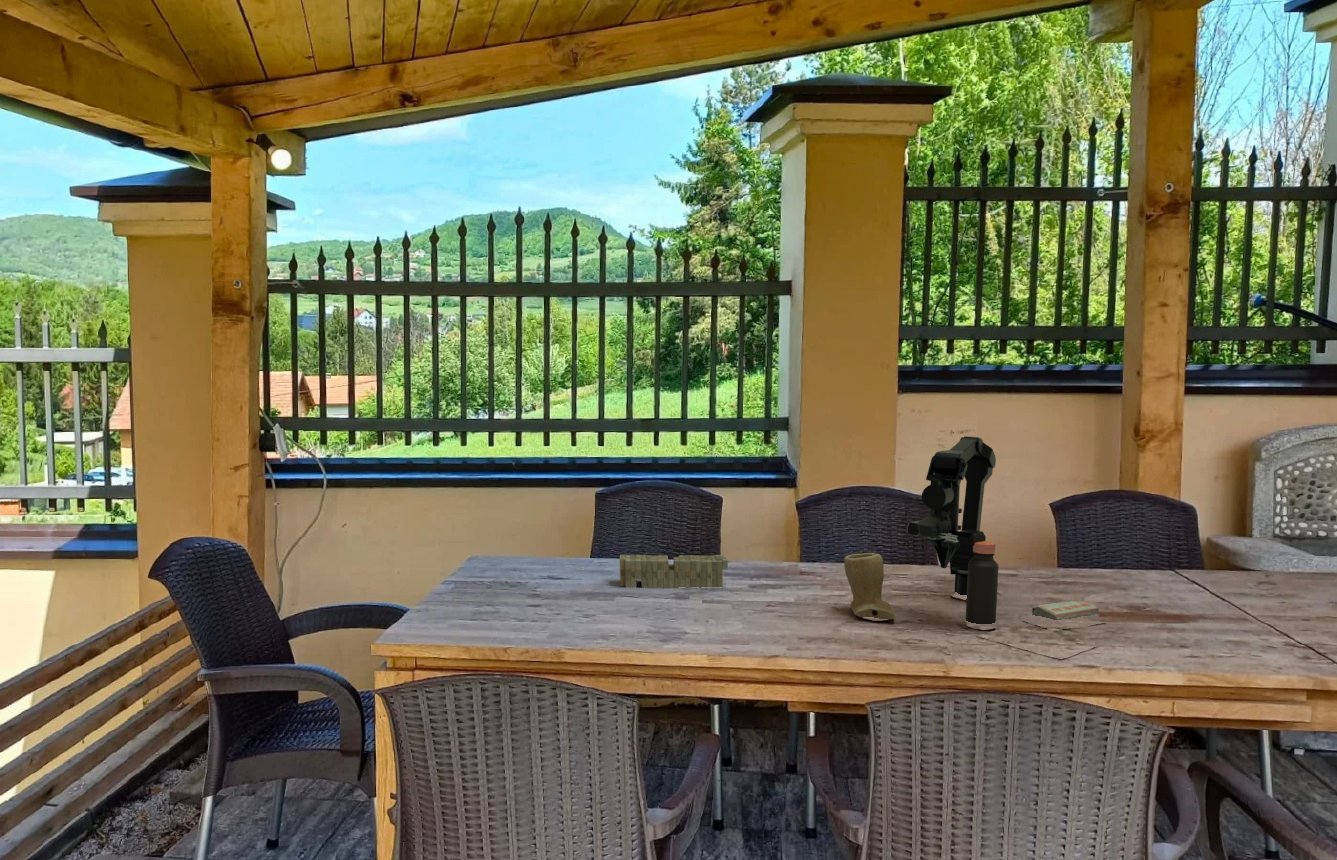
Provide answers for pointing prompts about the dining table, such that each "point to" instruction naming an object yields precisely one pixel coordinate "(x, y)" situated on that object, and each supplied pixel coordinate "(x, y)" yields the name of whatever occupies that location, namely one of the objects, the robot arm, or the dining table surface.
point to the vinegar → (982, 585)
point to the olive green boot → (867, 585)
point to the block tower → (672, 571)
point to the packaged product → (1065, 610)
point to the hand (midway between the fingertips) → (943, 567)
